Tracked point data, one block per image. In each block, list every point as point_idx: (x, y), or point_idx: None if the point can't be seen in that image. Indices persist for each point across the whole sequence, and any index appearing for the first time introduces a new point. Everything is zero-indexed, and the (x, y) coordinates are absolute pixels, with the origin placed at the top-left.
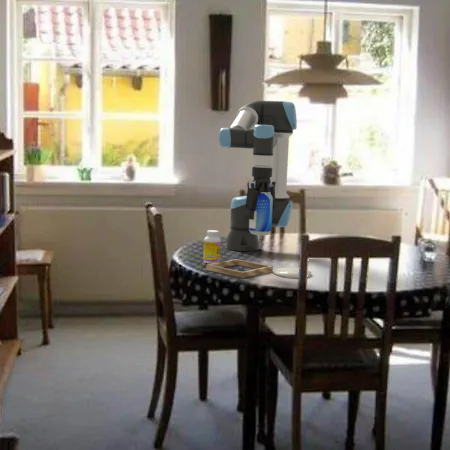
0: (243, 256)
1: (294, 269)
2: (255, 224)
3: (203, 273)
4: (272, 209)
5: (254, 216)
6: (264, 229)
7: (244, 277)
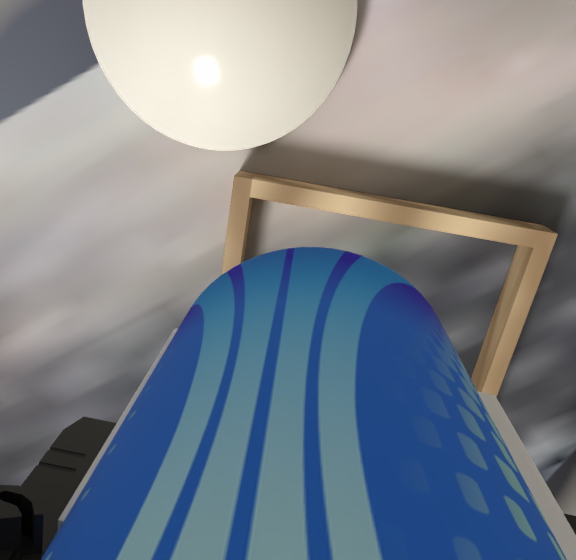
0: (4, 481)
1: (140, 38)
2: (497, 427)
3: (545, 439)
4: (32, 493)
5: (568, 541)
6: (413, 292)
7: (524, 222)
